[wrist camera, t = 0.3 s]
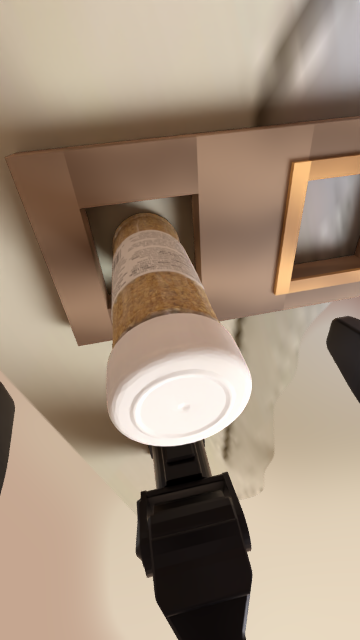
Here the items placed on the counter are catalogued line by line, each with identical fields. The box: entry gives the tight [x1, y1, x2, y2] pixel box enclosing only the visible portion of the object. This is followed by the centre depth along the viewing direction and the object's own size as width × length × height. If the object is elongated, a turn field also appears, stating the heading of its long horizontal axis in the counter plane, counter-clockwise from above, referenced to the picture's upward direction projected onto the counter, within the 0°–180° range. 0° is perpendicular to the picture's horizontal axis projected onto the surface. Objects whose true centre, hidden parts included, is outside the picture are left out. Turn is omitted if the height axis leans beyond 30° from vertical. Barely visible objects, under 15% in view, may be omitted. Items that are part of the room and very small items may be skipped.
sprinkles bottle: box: [106, 213, 252, 446], centre depth 14 cm, size 5×5×13 cm
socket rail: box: [5, 116, 360, 346], centre depth 19 cm, size 12×26×2 cm, turn 94°
